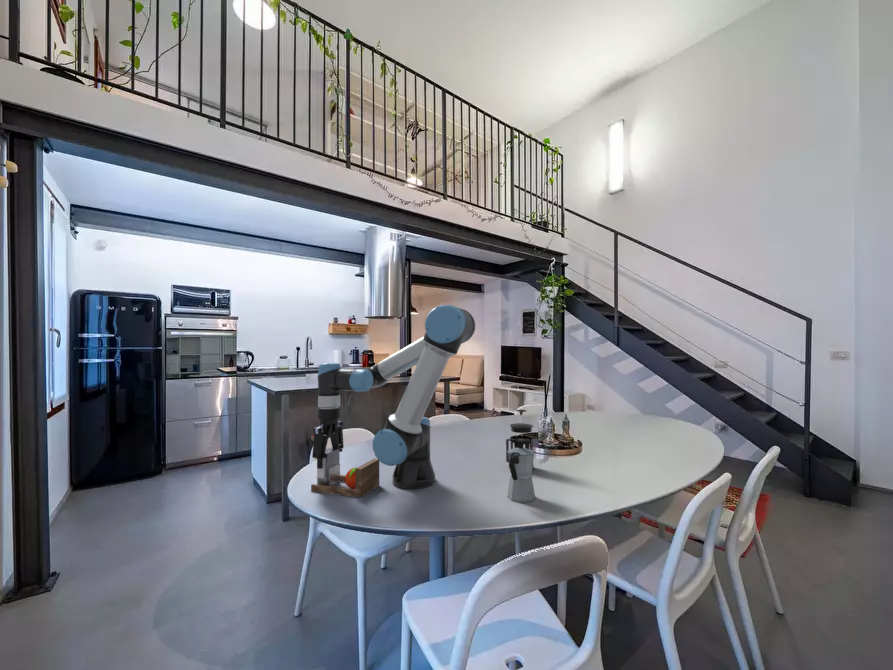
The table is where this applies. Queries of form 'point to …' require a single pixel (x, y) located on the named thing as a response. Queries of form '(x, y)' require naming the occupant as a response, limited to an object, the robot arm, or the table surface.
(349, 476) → the clementine
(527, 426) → the french press
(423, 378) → the robot arm
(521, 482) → the coffee maker
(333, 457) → the block
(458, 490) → the table surface
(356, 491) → the frame
